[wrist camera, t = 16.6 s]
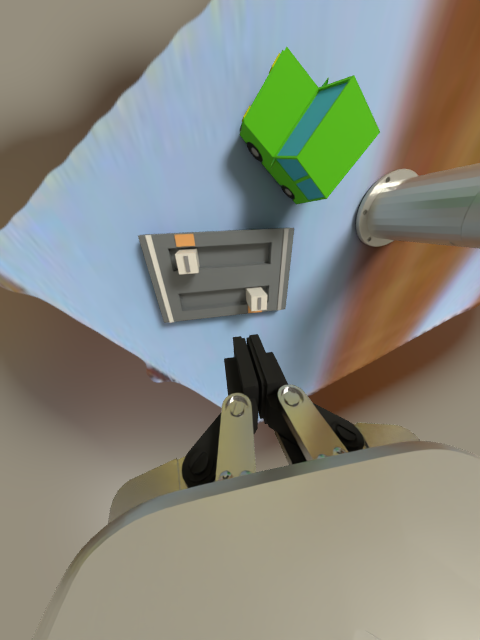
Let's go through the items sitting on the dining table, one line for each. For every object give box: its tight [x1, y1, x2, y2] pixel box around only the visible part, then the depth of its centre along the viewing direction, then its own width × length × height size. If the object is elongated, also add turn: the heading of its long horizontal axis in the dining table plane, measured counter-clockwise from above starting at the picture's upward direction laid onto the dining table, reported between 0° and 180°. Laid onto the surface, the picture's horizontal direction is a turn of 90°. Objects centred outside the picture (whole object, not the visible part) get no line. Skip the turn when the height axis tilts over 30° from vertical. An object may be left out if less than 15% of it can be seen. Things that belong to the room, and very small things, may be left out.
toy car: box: [240, 47, 380, 204], centre depth 22 cm, size 10×13×10 cm
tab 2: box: [246, 286, 267, 311], centre depth 34 cm, size 3×3×5 cm
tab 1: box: [175, 248, 200, 274], centre depth 29 cm, size 3×3×5 cm
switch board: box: [138, 228, 294, 323], centre depth 34 cm, size 26×16×3 cm, turn 92°
